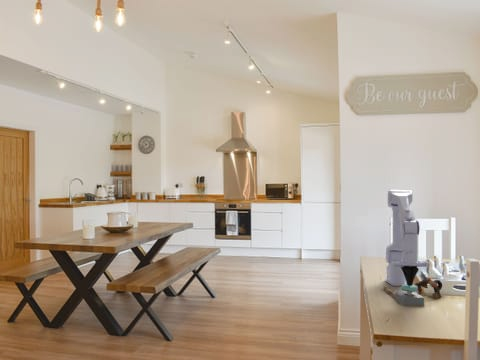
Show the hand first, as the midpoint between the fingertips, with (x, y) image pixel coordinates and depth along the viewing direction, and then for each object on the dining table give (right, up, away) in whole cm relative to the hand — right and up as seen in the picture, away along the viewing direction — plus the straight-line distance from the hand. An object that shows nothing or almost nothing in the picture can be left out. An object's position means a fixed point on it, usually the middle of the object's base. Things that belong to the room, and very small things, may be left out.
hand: (409, 285), depth 161 cm
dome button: (0, -5, 0) cm, 5 cm away
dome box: (0, -7, 0) cm, 7 cm away
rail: (-3, -7, +10) cm, 12 cm away
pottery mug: (+13, -7, +10) cm, 17 cm away
